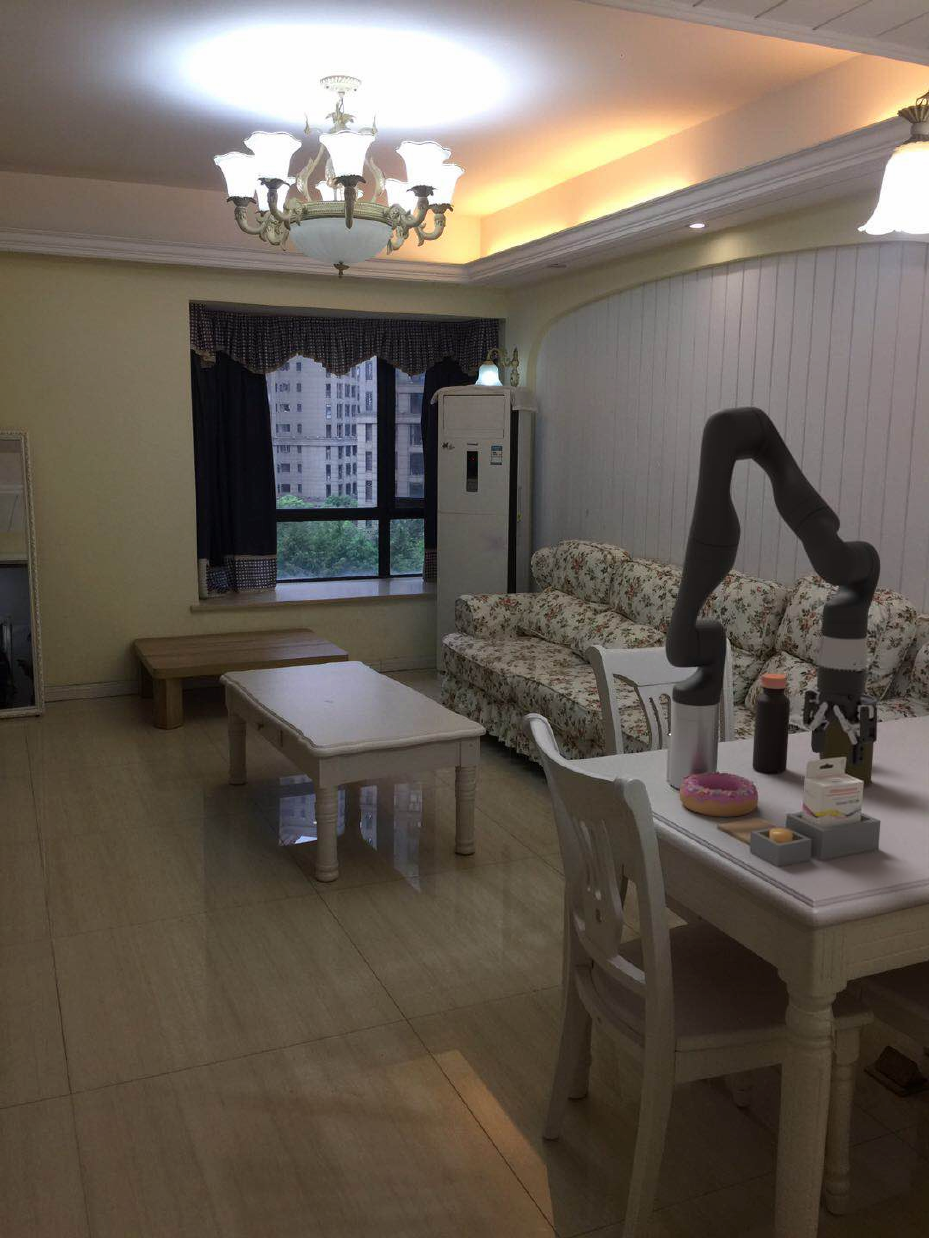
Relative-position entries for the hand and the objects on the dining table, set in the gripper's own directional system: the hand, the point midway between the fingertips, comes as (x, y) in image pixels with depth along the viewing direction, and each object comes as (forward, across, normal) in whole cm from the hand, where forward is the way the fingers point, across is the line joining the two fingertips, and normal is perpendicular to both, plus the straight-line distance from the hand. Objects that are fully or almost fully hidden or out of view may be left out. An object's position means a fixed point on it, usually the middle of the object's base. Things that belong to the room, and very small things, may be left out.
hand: (836, 758), depth 172 cm
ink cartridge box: (+15, 0, 0) cm, 16 cm away
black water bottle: (+15, -38, +19) cm, 45 cm away
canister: (+15, -26, +28) cm, 41 cm away
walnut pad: (+15, -10, -8) cm, 20 cm away
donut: (+15, -24, -5) cm, 29 cm away
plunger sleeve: (+15, 0, -11) cm, 19 cm away
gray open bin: (+15, 0, 0) cm, 15 cm away
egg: (+15, 0, -11) cm, 18 cm away
